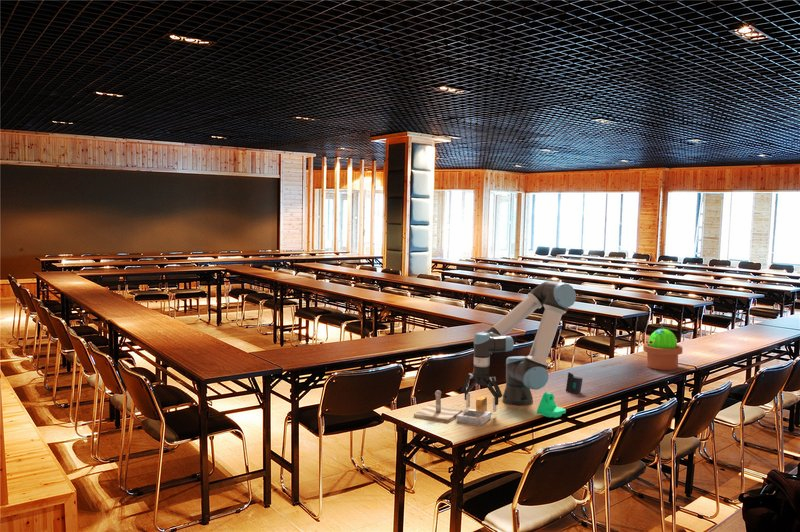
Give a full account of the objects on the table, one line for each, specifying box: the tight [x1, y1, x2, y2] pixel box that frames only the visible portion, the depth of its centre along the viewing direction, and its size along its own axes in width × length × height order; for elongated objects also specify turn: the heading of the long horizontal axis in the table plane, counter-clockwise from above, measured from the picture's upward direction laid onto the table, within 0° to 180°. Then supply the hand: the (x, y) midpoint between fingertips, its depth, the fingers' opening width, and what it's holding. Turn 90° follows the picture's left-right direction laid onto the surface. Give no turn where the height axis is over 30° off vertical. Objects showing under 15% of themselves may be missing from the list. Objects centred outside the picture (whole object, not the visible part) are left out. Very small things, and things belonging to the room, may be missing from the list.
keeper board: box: [413, 389, 464, 424], centre depth 279 cm, size 16×18×12 cm
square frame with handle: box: [456, 395, 492, 427], centre depth 274 cm, size 18×12×8 cm, turn 150°
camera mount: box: [536, 391, 567, 419], centre depth 277 cm, size 12×8×10 cm, turn 124°
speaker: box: [565, 371, 583, 394], centre depth 314 cm, size 8×6×10 cm
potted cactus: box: [642, 328, 683, 371], centre depth 367 cm, size 22×22×25 cm
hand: (481, 409), depth 280 cm, fingers open, 13 cm apart
